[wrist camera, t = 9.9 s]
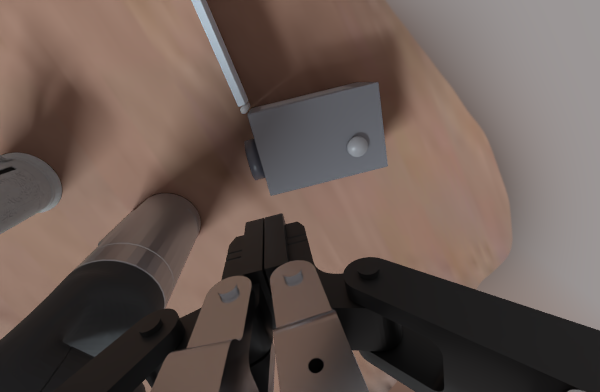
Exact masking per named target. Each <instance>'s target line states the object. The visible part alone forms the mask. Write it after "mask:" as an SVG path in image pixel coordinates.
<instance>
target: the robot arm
mask: <svg viewBox="0 0 600 392" xmlns="http://www.w3.org/2000/svg"><path fill="white" fill-rule="evenodd" d="M200 227H201V220H200V216H199V213H198V211H197V209H196V208H195V207H194V206H193V204H192V203H190V202H189V201H188V200H187V199H185V198H183V197H181V196H178V195H175V194H169V193H163V194H157V195H153V196H151V197H149V198H147V199H146V200H145V201H144V202H143V203H142V204H141V205H140V206H139V207H138V208H137V209H136V210H133V211H131V212H130V213H129V214H128V215H127V216H126V217H125V218H124V219H123V220H122V221H121V222H120V223H119V224H118V225H117V226H116V227H115V228H114V229H113V230H112V231H110V232H109V233H108V234H107V235H106V236H105V237H104V238H103V239H102V240H101V241H100V242H99V244H98V247H97V248H96V249H95V250H94V251H93V252H92V253H91V254H90V255H89V256H88V257H87V258H86V259H85V260H84V261H83V262H82V263H81V264H80V265H79V266H78V267H77V268H76V269H74V271H72V272H71V273H70V274H69V275H68V276H67V277H66V278H65V279H64V280H63V281H62V282H61V283H60V284H59V285H58V286H57V288H56V289H55V290H54V291H53V292H52V293H51V294H50V295H49V296H48V297H47V298H46V299H45V300H44V301H43V302H42V303H41V304H39V305H38V306H37V307H36V308H35V309H34V310H33V311H32V312H31V313H30V314H29V315H28V316H27V317H26V318H25V319H24V320H22V321H21V322H20V323H19V324H18V325H17V326H16V327H15V328H14V329H13V330H11V331H10V332H9V333H8V334H7V335H6V336H5V337H3V338H2V339H1V340H0V392H146V391H145V387H144V385H143V383H142V382H143V381H144V380H145V379H146V380H147V381H148V383H149V384H150V386H151V388H152V389H151V392H273V390H274V370H275V354H276V363H277V371H278V379H279V387H280V392H369V391H368V388H367V386H366V383H365V381H364V379H363V376H362V374H361V371H360V369H359V366H358V364H357V362H356V359H355V357H354V354H353V352H352V350H359V352H360V354H361V355H362V357H363V358H364V359H366V360H367V361H368V362H370V363H371V364H373V365H374V366H376V367H378V368H379V369H381V370H382V371H384V372H385V373H387V374H388V375H390V376H392V377H393V378H395V379H396V380H398V381H399V382H401V383H403V384H404V385H406V386H407V387H409V388H410V389H412V390H414V391H415V392H600V331H599V330H596V329H593V328H590V327H587V326H584V325H581V324H578V323H575V322H572V321H569V320H566V319H562V318H560V317H557V316H554V315H551V314H547V313H545V312H542V311H539V310H535V309H532V308H529V307H526V306H523V305H520V304H517V303H514V302H511V301H508V300H505V299H502V298H499V297H496V296H493V295H490V294H487V293H484V292H481V291H478V290H475V289H472V288H469V287H466V286H463V285H460V284H457V283H454V282H451V281H448V280H444V279H441V278H438V277H435V276H432V275H429V274H426V273H423V272H420V271H417V270H414V269H411V268H408V267H405V266H402V265H399V264H396V263H393V262H390V261H387V260H384V259H380V258H375V257H367V258H361V259H358V260H355V261H353V262H352V263H350V264H349V265H348V266H347V267H346V268H345V270H344V273H343V274H330V273H325V272H323V271H321V270H319V269H318V268H316V266H315V265H314V262H313V259H312V255H311V251H310V247H309V243H308V240H307V236H306V232H305V228H304V226H303V225H302V224H300V223H299V222H294V223H290V224H285V220H284V217H283V214H282V213H281V214H278V215H274V216H270V217H266V218H265V219H264V218H262V219H258V220H254V221H250V222H246V226H245V233H244V235H243V236H239V237H236V238H235V239H234V240H233V241H232V243H231V244H230V245H229V249H228V255H227V258H226V262H225V267H224V271H223V276H222V280H221V281H220V282H218V283H217V284H215V285H214V286H213V287H212V288H211V289H210V290H209V292H208V293H207V295H206V298H205V300H204V303H203V305H202V308H200V309H198V310H196V311H194V312H192V313H190V314H188V315H186V316H184V317H182V318H179V316H178V314H177V312H176V311H175V310H173V309H165V308H166V305H167V303H168V301H169V299H170V296H171V294H172V292H173V289H174V287H175V285H176V283H177V280H178V278H179V276H180V274H181V271H182V269H183V267H184V265H185V263H186V260H187V258H188V256H189V254H190V251H191V249H192V247H193V245H194V242H195V240H196V238H197V236H198V233H199V231H200ZM273 338H274V344H273Z"/></svg>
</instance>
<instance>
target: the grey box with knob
mask: <svg viewBox="0 0 600 392" xmlns="http://www.w3.org/2000/svg"><path fill="white" fill-rule="evenodd" d="M247 115H248V119H249V122H250V126H251V129H252V132H253V136H254V139H251V140H247V141H245V142H244V144H245V151H246V155H247V159H248V163H249V166H250V169H251V172H252V175H253V177H254V179H255V180H258V179H262V178H266V181H267V184H268V188H269V191H270V195H271V196H272V195H276V194H280V193H284V192H288V191H292V190H296V189H300V188H304V187H308V186H312V185H316V184H320V183H324V182H328V181H331V180H335V179H339V178H343V177H347V176H351V175H355V174H359V173H363V172H367V171H371V170H375V169H379V168H383V167H387V166H388V164H387V155H386V146H385V137H384V128H383V120H382V111H381V102H380V93H379V84H378V82H356V83H352V84H348V85H344V86H339V87H335V88H331V89H327V90H323V91H319V92H315V93H311V94H307V95H303V96H299V97H295V98H291V99H287V100H283V101H279V102H275V103H271V104H267V105H263V106H259V107H254V108H251V109H250V111H249V112H248V114H247Z"/></svg>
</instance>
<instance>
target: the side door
mask: <svg viewBox="0 0 600 392" xmlns="http://www.w3.org/2000/svg"><path fill="white" fill-rule="evenodd" d="M192 3H193V5H194V7H195V10H196V12H197V14H198V16H199V19H200V21H201V23H202V25H203V28H204V30H205V32H206V35H207V37H208V39H209V41H210V44H211V46H212V48H213V50H214V53H215V55H216V57H217V59H218V62H219V64H220V66H221V69H222V71H223V73H224V75H225V78H226V80H227V82H228V84H229V87H230V89H231V91H232V93H233V96H234V98H235V100H236V103H237V105H238V107H240V106H242V105H243V106H242V107H241V108H240V112H241V113H242V114H245V113H247V111H248V110H249V108H250V103H248V101H249V100H248V98H247V96H246V93H245V91H244V88H243V86H242V84H241V81H240V79H239V77H238V74H237V72H236V70H235V67H234V65H233V62H232V60H231V58H230V55H229V53H228V51H227V48H226V46H225V44H224V41H223V39H222V36H221V34H220V32H219V29H218V27H217V25H216V22H215V20H214V18H213V15H212V13H211V11H210V8H209V6H208V3H207V1H206V0H192Z"/></svg>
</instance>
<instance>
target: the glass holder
mask: <svg viewBox="0 0 600 392" xmlns="http://www.w3.org/2000/svg"><path fill="white" fill-rule="evenodd" d="M61 196H62V186H61V182H60V179H59V177H58V176H57V174H56V173H55V171H54V170H53V169H52V168H51V167H50V166H49V165H48V164H47V163H45V162H44V161H42V160H41V159H39V158H37V157H35V156H32V155H29V154H25V153H15V152H14V153H7V154H4V155H2V156H1V155H0V234H1V233H3V232H5V231H7V230H8V229H10V228H12V227H14V226H15V225H17V224H19V223H21V222H22V221H24V220H26V219H28V218H29V217H31V216H33V215H35V214H36V213H40V212H45V211H48V210H50V209H52V208H53V207H55V206H56V205H57V204H58V202H59V201H60V199H61Z"/></svg>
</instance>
